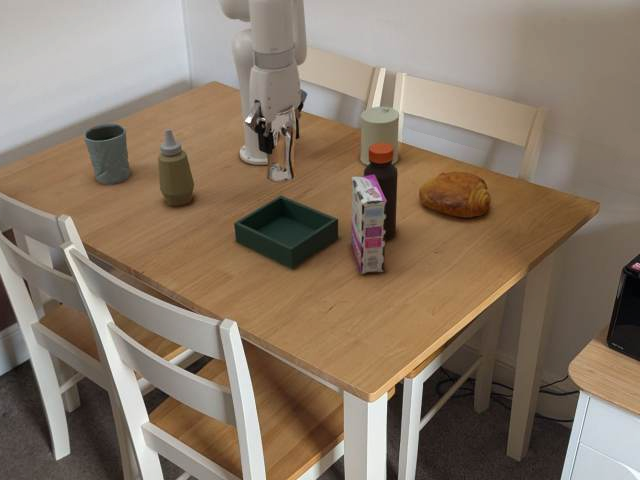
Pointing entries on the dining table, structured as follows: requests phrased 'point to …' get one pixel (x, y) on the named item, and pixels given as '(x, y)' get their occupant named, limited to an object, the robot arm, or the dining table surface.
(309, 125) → the dining table surface
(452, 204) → the croissant
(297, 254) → the tote
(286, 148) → the beer glass
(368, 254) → the candy bar box
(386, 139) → the can
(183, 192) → the squeeze bottle
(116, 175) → the grey green cup
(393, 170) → the vinegar
